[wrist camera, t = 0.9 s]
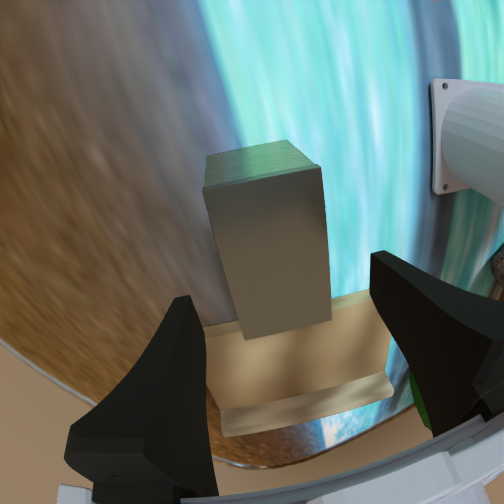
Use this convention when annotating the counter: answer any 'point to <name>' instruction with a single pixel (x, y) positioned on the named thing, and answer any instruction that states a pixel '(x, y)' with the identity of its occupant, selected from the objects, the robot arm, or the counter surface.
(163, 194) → the counter surface
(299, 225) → the tea tin
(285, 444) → the counter surface
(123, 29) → the counter surface
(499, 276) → the perforated stone tool
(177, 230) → the counter surface
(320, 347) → the shelf board
